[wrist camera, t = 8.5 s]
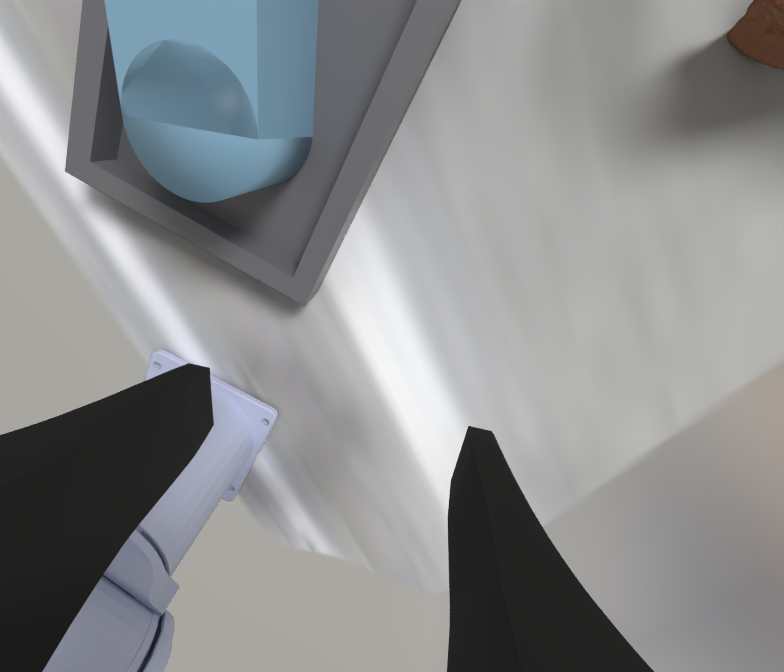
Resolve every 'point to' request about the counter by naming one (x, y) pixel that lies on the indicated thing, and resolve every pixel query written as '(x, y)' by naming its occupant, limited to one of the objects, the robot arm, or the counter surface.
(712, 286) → the counter surface
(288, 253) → the tray
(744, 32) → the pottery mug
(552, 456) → the counter surface
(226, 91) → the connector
